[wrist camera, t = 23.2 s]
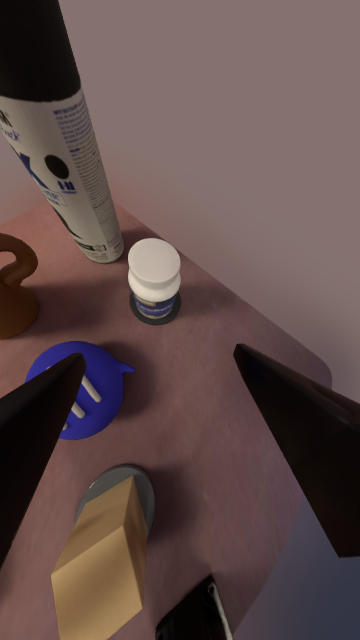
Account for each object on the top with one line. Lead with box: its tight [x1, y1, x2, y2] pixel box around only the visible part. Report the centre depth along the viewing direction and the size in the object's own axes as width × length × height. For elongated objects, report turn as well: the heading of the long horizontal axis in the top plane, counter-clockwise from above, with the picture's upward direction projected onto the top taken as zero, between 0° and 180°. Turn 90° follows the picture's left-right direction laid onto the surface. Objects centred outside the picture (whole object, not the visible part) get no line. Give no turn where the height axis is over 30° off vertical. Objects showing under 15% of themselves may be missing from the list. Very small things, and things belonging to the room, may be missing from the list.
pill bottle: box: [128, 238, 181, 319], centre depth 17 cm, size 6×6×10 cm
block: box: [51, 475, 147, 640], centre depth 12 cm, size 5×5×5 cm
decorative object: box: [25, 341, 135, 440], centre depth 15 cm, size 10×6×10 cm
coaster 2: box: [130, 292, 181, 325], centre depth 22 cm, size 8×8×1 cm
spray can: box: [0, 0, 124, 264], centre depth 14 cm, size 7×7×20 cm
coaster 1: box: [74, 464, 155, 537], centre depth 15 cm, size 8×8×1 cm
